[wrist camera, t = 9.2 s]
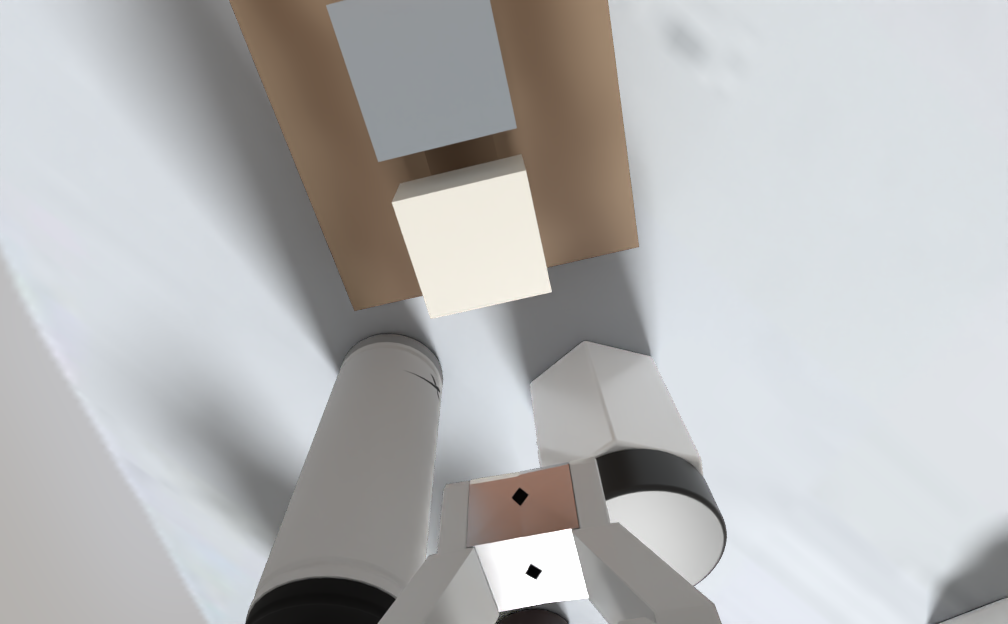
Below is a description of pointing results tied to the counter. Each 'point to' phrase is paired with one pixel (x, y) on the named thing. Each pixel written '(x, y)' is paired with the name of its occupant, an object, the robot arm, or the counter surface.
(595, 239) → the keypad base
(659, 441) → the jar
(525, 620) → the vinegar
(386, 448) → the travel mug
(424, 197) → the cream block
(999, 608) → the medicine bottle
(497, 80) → the key slate
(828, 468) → the counter surface
